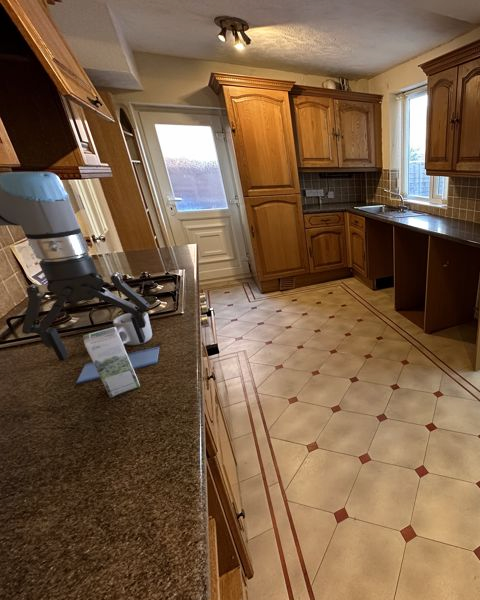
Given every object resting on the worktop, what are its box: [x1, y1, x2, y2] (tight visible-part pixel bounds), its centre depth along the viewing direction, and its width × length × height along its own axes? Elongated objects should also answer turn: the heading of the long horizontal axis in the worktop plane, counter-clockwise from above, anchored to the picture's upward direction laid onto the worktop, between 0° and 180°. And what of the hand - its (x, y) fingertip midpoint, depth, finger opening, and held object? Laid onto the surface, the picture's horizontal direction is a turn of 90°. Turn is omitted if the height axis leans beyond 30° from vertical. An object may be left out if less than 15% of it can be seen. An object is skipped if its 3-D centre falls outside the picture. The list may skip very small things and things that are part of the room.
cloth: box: [75, 346, 160, 385], centre depth 84 cm, size 16×9×1 cm, turn 121°
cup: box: [112, 312, 153, 346], centre depth 92 cm, size 11×8×8 cm
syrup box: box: [82, 326, 141, 398], centre depth 73 cm, size 6×6×14 cm
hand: (105, 348), depth 72 cm, fingers open, 13 cm apart
